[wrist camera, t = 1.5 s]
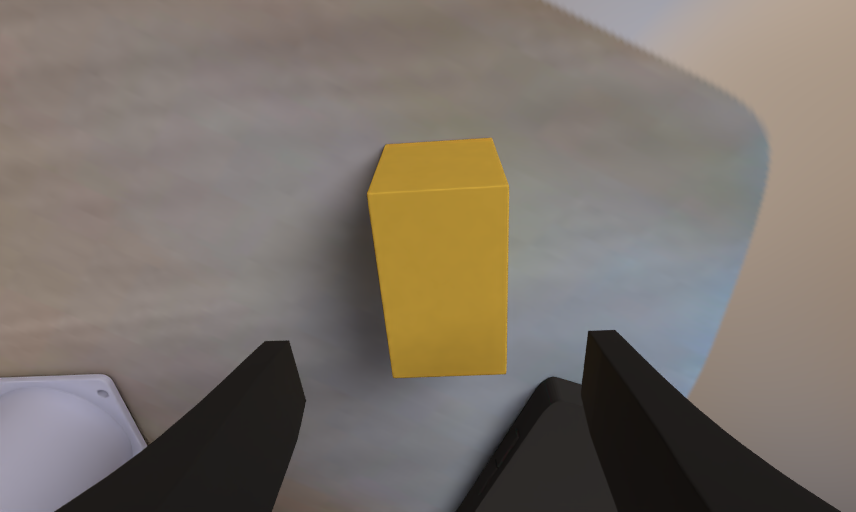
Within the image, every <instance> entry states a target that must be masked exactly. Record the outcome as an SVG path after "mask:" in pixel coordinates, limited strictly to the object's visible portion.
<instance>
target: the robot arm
mask: <svg viewBox="0 0 856 512" xmlns="http://www.w3.org/2000/svg"><path fill="white" fill-rule="evenodd" d="M581 398H582V402H583V407H584V411H585V416H586V420H587V424H588V428H589V432H590V436H591V439H592V442H593V445H594V447H595V450H596V453H597V456H598V459H599V461H600V464H601V467H602V470H603V472H604V475H605V478H606V481H607V483H608V486H609V489H610V492H611V494H612V497H613V500H614V503H615V505H616V508H617V511H618V512H841V511H839V510H838V509H836V508H834V507H833V506H831V505H830V504H828V503H826V502H825V501H823V500H822V499H820V498H819V497H817V496H816V495H814V494H813V493H811V492H809V491H808V490H807V489H805V488H803V487H802V486H800V485H798V484H797V483H796V482H794V481H793V480H791V479H790V478H788V477H787V476H785V475H784V474H782V473H781V472H780V471H778V470H777V469H775V468H774V467H773V466H771V465H770V464H768V463H767V462H766V461H764V460H763V459H762V458H760V457H759V456H757V455H756V454H755V453H753V452H752V451H751V450H749V449H748V448H746V447H745V446H744V445H742V444H741V443H740V442H738V441H737V440H736V439H734V438H733V437H732V436H731V435H729V434H728V433H727V432H726V431H724V430H723V429H721V427H719V426H718V425H717V424H716V423H715V422H713V421H712V420H711V419H710V418H709V417H707V416H706V415H705V414H704V413H703V412H701V411H700V410H699V409H698V408H696V406H694V405H693V404H692V403H691V402H690V401H689V400H688V399H686V398H685V397H684V396H683V395H682V394H681V393H680V392H679V391H678V390H677V389H676V388H674V387H673V386H672V385H671V384H670V383H669V382H668V381H667V380H666V379H665V378H664V377H663V376H662V375H660V374H659V373H658V372H657V371H656V370H655V369H654V368H653V367H652V366H651V365H650V364H649V363H648V362H647V361H646V360H645V359H644V358H643V357H642V356H641V355H640V354H639V353H638V352H637V351H636V350H635V349H634V348H633V347H632V346H631V345H630V344H629V343H628V342H627V341H626V340H625V339H624V338H623V337H622V336H621V335H620V334H619V333H618V332H616V331H615V330H602V331H588V337H587V346H586V354H585V363H584V371H583V379H582V388H581ZM305 403H306V399H305V395H304V392H303V388H302V385H301V381H300V378H299V374H298V370H297V367H296V363H295V360H294V356H293V353H292V349H291V346H290V342H289V341H265V342H264V343H263V344H261V345H260V346H259V347H258V348H257V349H256V350H255V351H254V352H253V353H252V354H251V355H249V356H248V357H247V358H246V359H245V360H244V361H243V362H242V363H241V364H240V365H239V366H238V367H237V368H236V369H235V370H234V371H233V372H232V373H231V374H230V375H228V376H227V377H226V378H225V379H224V380H223V381H222V382H221V383H220V384H219V385H218V386H217V387H216V388H215V389H213V390H212V391H211V392H210V393H209V394H208V395H207V396H206V397H205V398H204V399H203V400H202V401H200V402H199V403H198V404H197V405H196V406H195V407H194V408H192V409H191V410H190V411H189V412H188V413H187V414H185V415H184V416H183V417H182V418H181V419H180V420H178V421H177V422H176V423H175V424H174V425H173V426H171V427H170V428H169V429H168V430H167V431H166V432H164V433H163V434H162V435H161V436H160V437H158V438H157V439H156V440H155V441H154V442H152V443H151V444H150V445H148V446H147V444H146V442H145V440H144V439H143V437H142V435H141V433H140V431H139V429H138V427H137V425H136V424H135V422H134V420H133V418H132V416H131V414H130V412H129V410H128V409H127V407H126V405H125V403H124V401H123V399H122V397H121V395H120V394H119V392H118V390H117V388H116V386H115V384H114V382H113V380H112V379H111V378H110V377H108V376H107V375H104V374H84V375H57V376H30V377H3V378H0V512H272V509H273V506H274V504H275V501H276V498H277V495H278V492H279V490H280V487H281V484H282V482H283V479H284V476H285V473H286V470H287V468H288V465H289V462H290V459H291V456H292V454H293V451H294V448H295V445H296V442H297V439H298V435H299V430H300V426H301V422H302V417H303V412H304V408H305Z"/></svg>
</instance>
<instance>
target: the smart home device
mask: <svg viewBox="0 0 856 512" xmlns="http://www.w3.org/2000/svg"><path fill="white" fill-rule="evenodd" d="M581 388H582V385H581V384H577V383H574V382H571V381H567V380H564V379H561V378H557V377H551V378H549V379H547V380H545V381H544V382H543V383H542V384H541V385H540V386H539V387H538V388H537V389H536V391H535V392H534V394H533V395H532V397H531V398H530V400H529V401H528V403H527V405H526V406H525V408H524V409H523V411H522V412H521V414H520V415H519V417H518V418H517V420H516V421H515V423H514V424H513V426H512V427H511V429H510V431H509V432H508V434H507V435H506V437H505V438H504V440H503V441H502V443H501V444H500V446H499V447H498V449H497V450H496V452H495V453H494V455H493V457H492V458H491V460H490V461H489V463H488V464H487V466H486V467H485V469H484V470H483V472H482V473H481V475H480V476H479V478H478V480H477V481H476V483H475V484H474V486H473V487H472V489H471V490H470V492H469V493H468V495H467V496H466V498H465V499H464V501H463V502H462V504H461V506H460V507H459V509H458V510H457V512H618V511H617V508H616V505H615V503H614V500H613V497H612V494H611V492H610V489H609V486H608V483H607V481H606V478H605V475H604V472H603V470H602V467H601V464H600V461H599V459H598V456H597V453H596V450H595V447H594V445H593V442H592V439H591V436H590V432H589V428H588V424H587V420H586V416H585V411H584V407H583V402H582V398H581Z"/></svg>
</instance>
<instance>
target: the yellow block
mask: <svg viewBox="0 0 856 512" xmlns="http://www.w3.org/2000/svg"><path fill="white" fill-rule="evenodd" d="M367 200H368V207H369V214H370V221H371V228H372V235H373V242H374V249H375V256H376V263H377V270H378V277H379V284H380V291H381V298H382V305H383V312H384V319H385V326H386V333H387V340H388V347H389V354H390V361H391V368H392V375H393V378H412V377H441V376H469V375H497V374H506V364H507V296H508V228H509V185H508V182H507V179H506V176H505V174H504V171H503V168H502V165H501V162H500V160H499V157H498V154H497V151H496V148H495V146H494V143H493V140H492V138H481V139H465V140H449V141H433V142H417V143H402V144H386V145H385V147H384V149H383V152H382V155H381V157H380V160H379V163H378V166H377V168H376V171H375V174H374V176H373V179H372V182H371V184H370V187H369V190H368V192H367Z"/></svg>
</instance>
